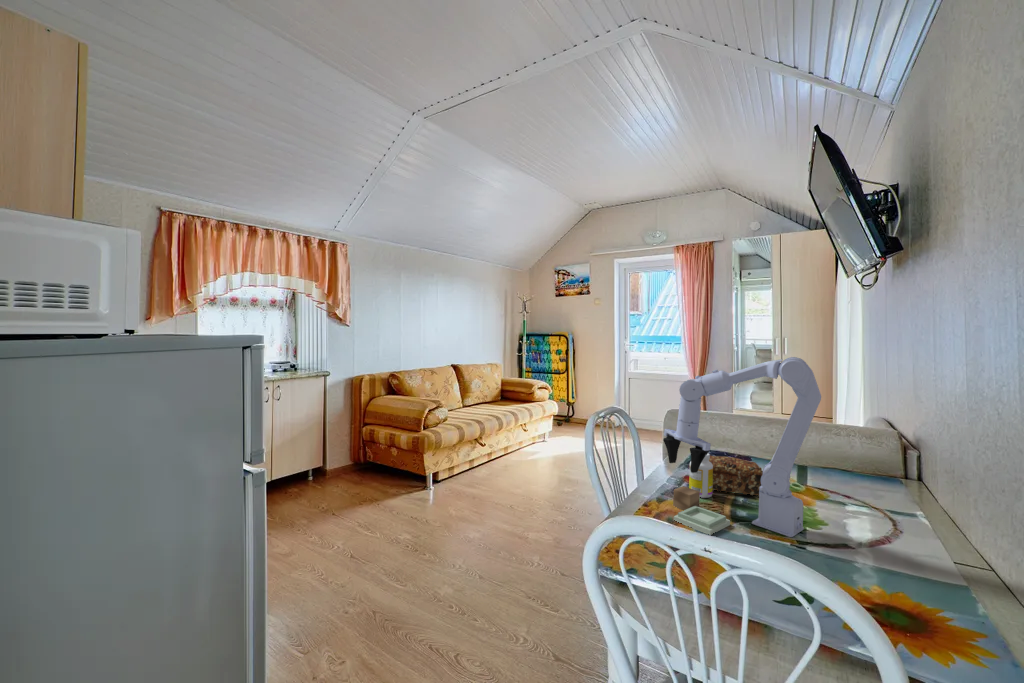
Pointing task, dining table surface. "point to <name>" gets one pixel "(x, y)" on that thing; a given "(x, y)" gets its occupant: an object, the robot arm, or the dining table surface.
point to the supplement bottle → (702, 478)
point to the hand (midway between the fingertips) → (682, 467)
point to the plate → (702, 520)
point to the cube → (685, 498)
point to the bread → (736, 475)
